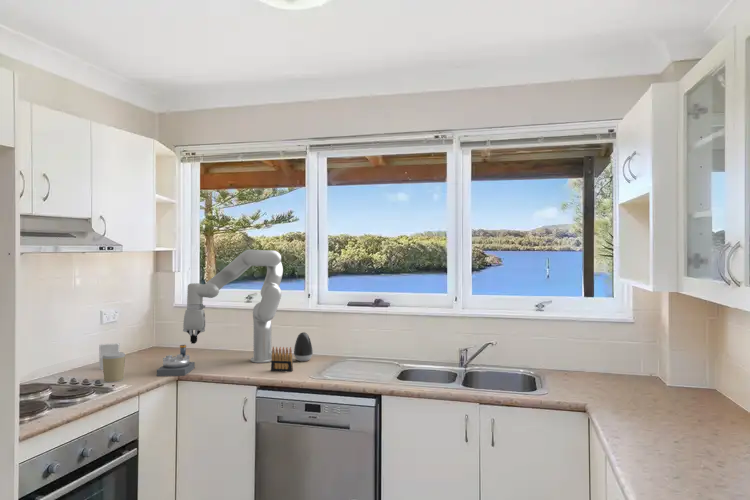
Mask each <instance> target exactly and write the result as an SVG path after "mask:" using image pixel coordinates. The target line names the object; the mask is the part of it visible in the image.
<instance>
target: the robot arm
mask: <svg viewBox="0 0 750 500" xmlns="http://www.w3.org/2000/svg"><path fill="white" fill-rule="evenodd" d="M254 266H255V267H266V269H267V270H266V275H265V278H264V281H263V284H262V287H261V289H260V295H261V300H260V302H258V303H256V304H255V305H254V306H253V308H252V318H253V324H252V325H253V356H252V357H251V358H250V362H252V363H257V364H262V363H264V364H265V363H271V361H272V330H273V329H272V320H273V319H274V317H275V316H276V313H277V310H278V307H279V304H280V301H281V299H282V298H281V297H282V288H280V286H281V281H282V278H283V274H284V267H283V264H282V255H281V253H280V252H279V251H277V250H273V249H272V250H270V249H269V250H268V249H267V250H264V249H263V250H262V249H246V250H244V251H243V252H241V253H240V254H239V255H238V256H236V257H235V259H233V260H232V261H231V262H229V264H227V265H226V266H225V267H223V268H222V269H221V270H220V271H219V272H217V273H216V274H215V275H214V276H212V277H211V278H210V279H209V280H208V281H206V282H205V284H204V283H203V284H202V283H196V282H195V283H188V284H187V290H186V291H187V292H186V293H187V294H186V296H187V297H186V302H187V303H186V309H185V311H184V316H183V323H182V324H183V325H182V328H183V330H182V332H184V333H188V335H189V336H190V338H189V339H190V340H189V342H190V344H193V345H194V344H196V343H197V342H198V336H199V334H201V333H204V332H205V331H206V329H205V328H206V314H205V310H204V309H206V305H204V303H203V300H204V299H203V298H207V299H213V298H215V297H218V295H219V293H220V290H221V289H223V288H224V286H226V285H228V284H229V283H231V282H233V281H235V280H237V279H238V278H239V277H241V275H243V274H244V273H245V272H246V271H247V270H248V269H249V270H250V268H251V267H254ZM278 355H279V353H278Z"/></svg>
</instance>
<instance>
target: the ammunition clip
mask: <svg viewBox="0 0 750 500" xmlns="http://www.w3.org/2000/svg"><path fill="white" fill-rule="evenodd" d="M271 351H272V361H271V362H270V363H271V365H270V371H271V372H285V371H287V372H289V373H291V372H293V371H294V368H293V354H292V353H293V350H292V347H291V346H290V347H289V349H288V347H286V348H285V347H284V346H283V347H282V348H281V346H279V349H278V346H276V347H275V346H272V347H271ZM278 354H279V355H278ZM287 372H286V373H287Z"/></svg>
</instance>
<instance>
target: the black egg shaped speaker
mask: <svg viewBox="0 0 750 500" xmlns="http://www.w3.org/2000/svg"><path fill="white" fill-rule="evenodd" d="M313 351H314V350H313V345H312V341H311V338H310V336H309V334H308V333H306V332H305V331H304V332H300V333H299V334H298V335H297V337H296V340H295V343H294V347H293V355H294V358H295V359H296V361H298V362H308V361H309V360H311V358H312V356H313Z"/></svg>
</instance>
